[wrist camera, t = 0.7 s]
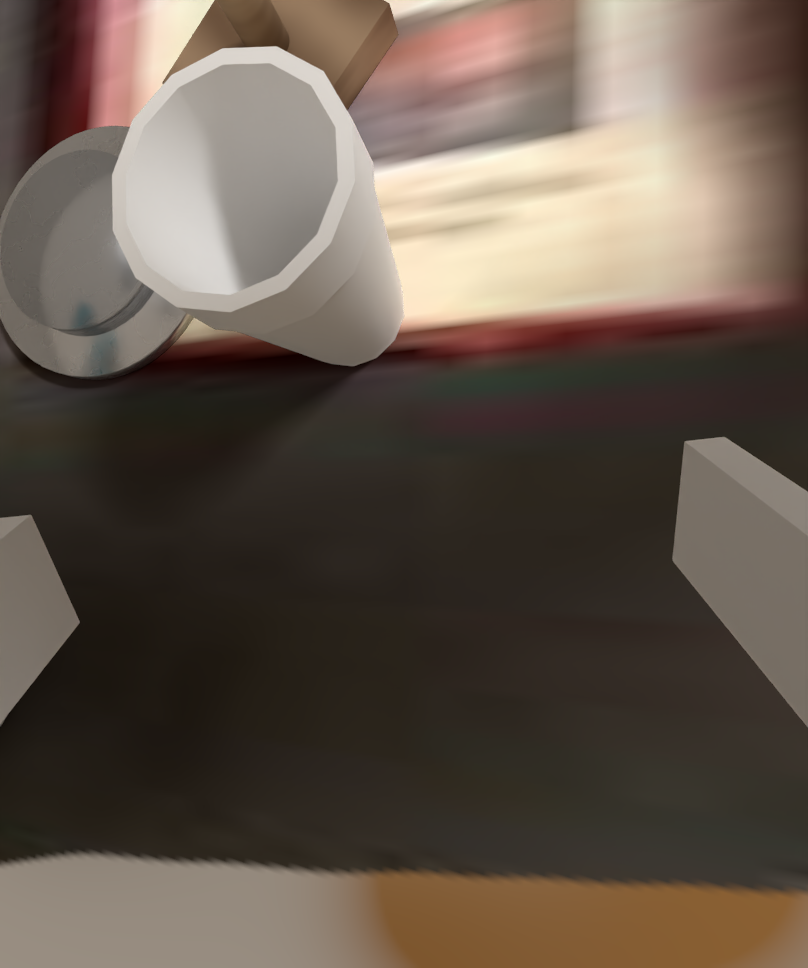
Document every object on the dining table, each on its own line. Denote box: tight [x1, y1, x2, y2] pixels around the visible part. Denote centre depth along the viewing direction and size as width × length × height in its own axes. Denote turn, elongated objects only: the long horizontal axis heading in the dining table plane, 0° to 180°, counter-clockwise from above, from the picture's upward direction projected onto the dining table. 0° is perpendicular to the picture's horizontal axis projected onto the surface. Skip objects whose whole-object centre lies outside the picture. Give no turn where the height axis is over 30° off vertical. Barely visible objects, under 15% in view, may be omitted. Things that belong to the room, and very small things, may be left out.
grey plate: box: [0, 126, 193, 380], centre depth 35 cm, size 16×16×2 cm
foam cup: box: [112, 46, 404, 366], centre depth 26 cm, size 10×9×13 cm
